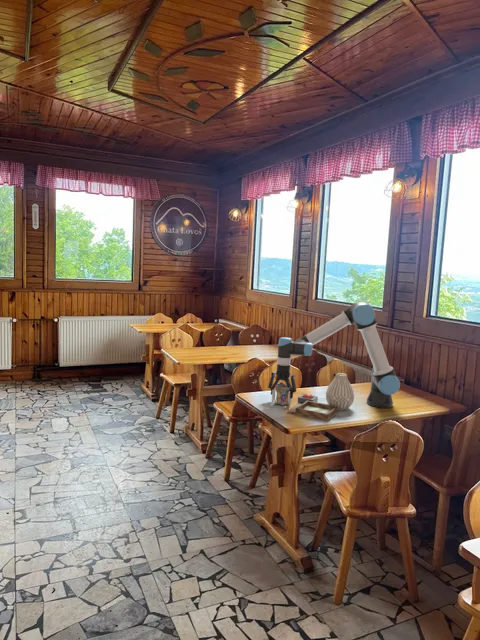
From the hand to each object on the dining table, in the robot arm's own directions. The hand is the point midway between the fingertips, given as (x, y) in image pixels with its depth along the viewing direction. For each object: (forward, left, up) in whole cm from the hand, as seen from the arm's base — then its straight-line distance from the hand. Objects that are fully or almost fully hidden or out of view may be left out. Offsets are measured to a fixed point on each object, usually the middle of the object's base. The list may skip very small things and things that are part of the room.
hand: (281, 402), depth 272 cm
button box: (-13, -9, -1) cm, 16 cm away
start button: (-13, -9, +1) cm, 16 cm away
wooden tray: (-21, +6, -1) cm, 22 cm away
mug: (0, 0, -1) cm, 1 cm away
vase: (-31, -12, -1) cm, 33 cm away
